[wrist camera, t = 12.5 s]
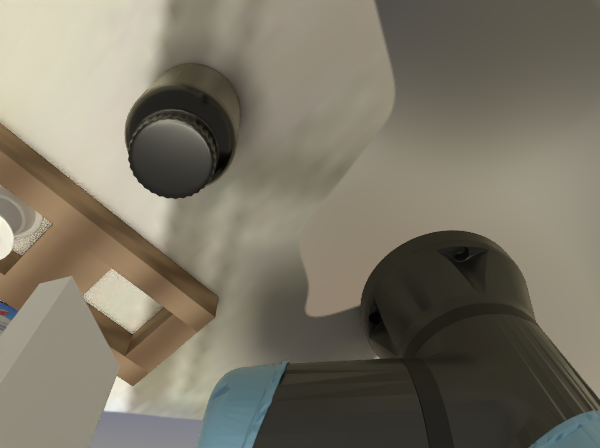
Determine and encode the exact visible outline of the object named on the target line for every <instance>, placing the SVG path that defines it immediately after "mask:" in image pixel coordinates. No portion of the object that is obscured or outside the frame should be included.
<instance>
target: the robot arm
mask: <svg viewBox="0 0 600 448" xmlns="http://www.w3.org/2000/svg"><path fill="white" fill-rule="evenodd" d="M361 318H362V322H363V325H364V329H365V332H366V336H367V338H368V341H369V343H370V345H371V347H372V348H373V350H374V351H375V353H376V354H377V355H378V356H379V358H380V359H372V360H355V361H337V362H319V363H294V364H290V362H289V360H284V361H282V362H280V363H279V364H272V365H262V366H253V367H243V368H238V369H234V370H232V371H230V372H228V373H227V374H225V375H224V376H223V377H222V378H221V379H220V380H219V382H218V383H217V384H216V386H215V388H214V389H213V392H212V394H211V396H210V399H209V401H208V404H207V408H206V411H205V414H204V418H203V422H202V426H201V430H200V435H199V440H198V444H197V448H600V399H599V398H598V397H597V396H596V394H595V393H594V392H593V391H592V390H591V388H590V387H589V386H588V385H587V384H586V383H585V381H584V380H583V379H582V378H581V376H580V375H579V374H578V373H577V371H576V370H575V369H574V368H573V367H572V365H571V364H570V363H569V362H568V361H567V359H566V358H565V357H564V356H563V355H562V353H561V352H560V351H559V350H558V349H557V347H556V346H555V345H554V344H553V342H552V341H551V340H550V339H549V338H548V336H547V335H546V334H545V333H544V332H543V330H542V329H541V328H540V327H539V325H538V324H537V323H536V320H535V316H534V312H533V309H532V304H531V301H530V297H529V292H528V288H527V285H526V281H525V279H524V277H523V275H522V273H521V271H520V269H519V268H518V266H517V265H516V264H515V262H514V261H513V260H512V259H511V258H510V257H509V255H508V254H507V253H506V252H505V251H504V250H503V249H502V248H501V247H500V246H499V245H497V244H496V243H495V242H493V241H491V240H490V239H488V238H486V237H483V236H481V235H478V234H475V233H470V232H465V231H440V232H433V233H429V234H425V235H422V236H419V237H416V238H414V239H412V240H410V241H407V242H406V243H404V244H402V245H400V246H399V247H397V248H396V249H394V250H393V251H392V252H390V253H389V254H388V255H387V256H386V257H385V258H384V259H382V261H381V262H380V263H379V264H378V265H377V266H376V268H375V269H374V270H373V272H372V273H371V275H370V276H369V278H368V280H367V282H366V284H365V287H364V290H363V293H362V298H361ZM119 368H120V366H119V364H118V362H117V360H116V359H115V357H114V355H113V353H112V351H111V349H110V347H109V345H108V343H107V341H106V340H105V338H104V336H103V334H102V332H101V330H100V328H99V326H98V324H97V322H96V321H95V319H94V317H93V315H92V313H91V311H90V309H89V307H88V305H87V304H86V302H85V300H84V298H83V296H82V294H81V292H80V290H79V288H78V286H77V285H76V283H75V281H74V279H73V277H72V276H69V277H65V278H61V279H57V280H53V281H48V282H44V283H40V284H39V285H38V286H37V288H36V289H35V290H34V292H33V293H32V294H31V296H30V297H29V298H28V300H27V301H26V302H25V304H24V305H23V306H22V308H21V309H20V310H19V312H18V313H17V314H16V316H15V317H14V318H13V320H12V321H11V322H10V324H9V325H8V326H7V328H6V329H5V330H4V332H3V333H2V334H1V336H0V448H89V447H90V445H91V442H92V439H93V437H94V434H95V431H96V429H97V426H98V423H99V421H100V418H101V415H102V413H103V410H104V408H105V405H106V402H107V400H108V397H109V395H110V392H111V389H112V387H113V384H114V381H115V379H116V376H117V374H118V371H119Z"/></svg>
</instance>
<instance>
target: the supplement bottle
mask: <svg viewBox="0 0 600 448" xmlns="http://www.w3.org/2000/svg"><path fill="white" fill-rule="evenodd" d="M239 120H240V106H239V101H238V97H237V95H236V92H235V90H234V89H233V87H232V85H231V84H230V83H229V81H228V80H227V79H226V78H225V77H224V76H223V75H221V74H220V73H219V72H217V71H215V70H214V69H212V68H209V67H207V66H203V65H199V64H184V65H179V66H176V67H174V68H172V69H170V70H168V71H166V72H165V73H164V74H162V75H161V76H160V77H159V78H158V79H157V80H156V81H155V82H154V83H153V84H152V85H151V86H150V87H149V88H148V89H147V90H146V91H145V92H144V93H143V95H142V96H141V97H140V98H139V99H138V100H137V101H136V102H135V104H134V105H133V107H132V108H131V110H130V112H129V114H128V117H127V120H126V124H125V143H126V147H127V151H128V154H129V158H128V160H129V162H130V168H131V170H132V171H133V175H134V176H135V177H136V178H137V180H138V182H139V183H141V184H142V185H143V186H144V188H146V189H149V190H150V192H151V193H155V194H157V195H158V196H164V197H165V198H174V199H177V198H185V197H186V196H192V195H193V194H194V193H198V192H199V191H200V189H203V188H205V187H206V186H209V185H211V184H212V183H214V182H215V181H217V180H218V179H219V178H220V177H222V175H223V174H224V173H225V172H226V171H227V169H228V168H229V166H230V165H231V162H232V160H233V157H234V155H235V150H236V145H237V136H238V128H239Z"/></svg>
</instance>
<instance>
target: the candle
mask: <svg viewBox="0 0 600 448" xmlns="http://www.w3.org/2000/svg"><path fill="white" fill-rule="evenodd" d="M42 220H43V216H42V215H40V214H39V213H38V212H36V211H35V210H34V209H32V208H31V207H30V206H28V205H27V204H26V203H24V202H23V201H22V200H20V199H19V198H18V197H16V196H15V195H14V194H12V193H11V192H10V191H8V190H7V189H5V188H4V187H3V186H1V185H0V260H1V259H3V258H5V257H6V256H7V255H8V254H9V253H10V252H11V250H12V248H13V245H14V238H22V237H26V236H29V235H31V234H33V233H34V232H35V231H36V230H37V229H38V228H39V227H40V225H41V223H42Z"/></svg>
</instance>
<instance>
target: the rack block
mask: <svg viewBox="0 0 600 448" xmlns="http://www.w3.org/2000/svg"><path fill="white" fill-rule="evenodd" d="M0 185H1V186H3V187H4V188H5V189H7V190H8V191H10V192H11V193H12V194H14V195H15V196H16V197H18V198H19V199H20V200H22V201H23V202H24V203H26V204H27V205H28V206H30V207H31V208H32V209H34V210H35V211H36V212H38V213H39V214H40V215H42V216H43V217H44V218H46V219H47V220H48V221H50V222H51V223H52V225H51V226H50V227H49V228H48V229H47V230H46V231H45V232H44V233H43V234H42V235H41V236H40V237H39V239H38V240H37V241H36V242H35V243H34V244H33V245H32V246H31V247H30V248H29V249H28V250H27V251H26V252H25V253H24V254H23V255H22V256H19V255H18V254H17V253H15V252H14V251H12V250H11V252H10V253H9V254H8V255H7V256H6V257H5V258H3V259H1V260H0V300H2V301H3V302H5V303H6V304H8V305H9V306H11V307H12V308H14V309H16V310H17V311H19V310H20V309H21V308H22V306H23V305H24V304H25V302H26V301H27V300H28V298H29V297H30V296H31V294H32V293H33V292H34V290H35V289H36V288H37V286H38V285H39V284H40V283H44V282H48V281H53V280H57V279H61V278H65V277H69V276H72V277H73V279H74V281H75V283H76V285H77V286H78V288H79V290H80V292H81V294H82V296H83V295H84V294H85V293H86V292H87V291H88V290H89V289H90V288H91V287H92V286H93V285H94V284H95V283H96V282H97V281H98V280H99V279H100V278H102V277H103V276H104V275H105V274H106V273H107V272H108V271H109V270H110V269H111V268H112V269H114V270H115V271H116V272H118V273H119V274H120V275H122V276H123V277H124V278H126V279H127V280H128V281H130V282H131V283H132V284H134V285H135V286H136V287H138V288H139V289H140V290H142V291H143V292H144V293H146V294H147V295H148V296H150V297H151V298H152V299H154V300H155V301H156V302H158V303H159V304H160V305H162V306H163V307H164V308H163V309H162V310H160V311H159V312H158V313H157V314H156V315H155V316H154V317H153V318H151V319H150V320H149V321H148V322H147V323H146V324H145V325H143V326H142V327H141V328H140V329H139V330H138V331H137V332H136V333H134V334H133V335H132V334H131V333H129V332H128V331H126V330H125V329H124V328H122V327H121V326H119V325H118V324H116V323H115V322H114V321H112V320H111V319H109V318H108V317H106V316H105V315H104V314H102V313H101V312H99V311H98V310H96V309H95V308H94V307H92V306H91V305H89V304H88V303H86V304H87V305H88V307H89V309H90V311H91V313H92V315H93V317H94V319H95V321H96V322H97V324H98V326H99V328H100V330H101V332H102V334H103V336H104V338H105V340H106V341H107V343H108V345H109V347H110V349H111V351H112V353H113V355H114V357H115V359H116V360H117V362H118V364H119V366H120V368H119V371H118V374H117V376H118V377H119V378H121V379H122V380H124V381H126V382H127V383H129V384H130V385H132V386H134V385H135V384H136V383H138V382H139V381H140V380H141V379H142V378H143V377H145V376H146V375H147V374H148V373H149V372H151V371H152V370H153V369H154V368H155V367H157V366H158V365H159V364H160V363H161V362H162V361H164V360H165V359H166V358H167V357H168V356H170V355H171V354H172V353H173V352H174V351H176V350H177V349H178V348H179V347H180V346H181V345H183V344H184V343H185V342H186V341H187V340H189V339H190V338H191V337H192V336H193V335H195V334H196V333H197V332H198V331H199V330H200V329H202V328H203V327H204V326H205V325H206V324H208V323H209V322H210V321H211V320H212V319H214V318H215V314H216V308H217V301H218V297H217V296H216V295H214V294H213V293H212V292H211V291H209V290H208V289H207V288H206V287H204V286H203V285H202V284H201V283H199V282H198V281H197V280H196V279H194V278H193V277H192V276H191V275H189V274H188V273H187V272H186V271H184V270H183V269H182V268H181V267H179V266H178V265H177V264H176V263H174V262H173V261H172V260H171V259H169V258H168V257H167V256H166V255H164V254H163V253H162V252H161V251H159V250H158V249H157V248H156V247H154V246H153V245H152V244H150V243H149V242H148V241H147V240H145V239H144V238H143V237H142V236H140V235H139V234H138V233H137V232H135V231H134V230H133V229H132V228H130V227H129V226H128V225H127V224H125V223H124V222H123V221H122V220H120V219H119V218H118V217H117V216H115V215H114V214H113V213H112V212H110V211H109V210H108V209H107V208H105V207H104V206H103V205H102V204H100V203H99V202H98V201H97V200H95V199H94V198H93V197H92V196H90V195H89V194H88V193H87V192H85V191H84V190H83V189H82V188H80V187H79V186H78V185H77V184H75V183H74V182H73V181H72V180H70V179H69V178H68V177H67V176H65V175H64V174H63V173H62V172H60V171H59V170H58V169H57V168H55V167H54V166H53V165H52V164H50V163H49V162H48V161H47V160H45V159H44V158H43V157H42V156H40V155H39V154H38V153H36V152H35V151H34V150H33V149H31V148H30V147H29V146H28V145H26V144H25V143H24V142H23V141H21V140H20V139H19V138H18V137H16V136H15V135H14V134H13V133H11V132H10V131H9V130H8V129H6V128H5V127H4V126H3V125H1V124H0Z"/></svg>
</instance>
